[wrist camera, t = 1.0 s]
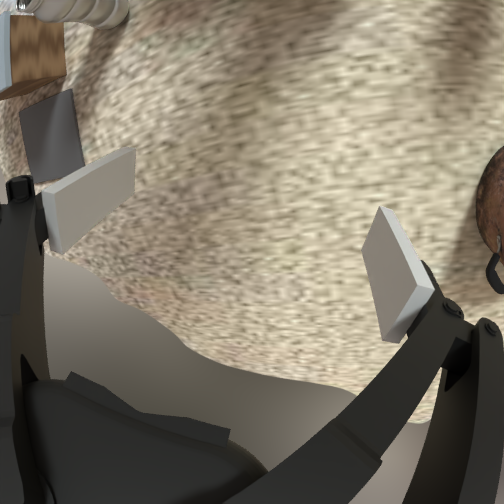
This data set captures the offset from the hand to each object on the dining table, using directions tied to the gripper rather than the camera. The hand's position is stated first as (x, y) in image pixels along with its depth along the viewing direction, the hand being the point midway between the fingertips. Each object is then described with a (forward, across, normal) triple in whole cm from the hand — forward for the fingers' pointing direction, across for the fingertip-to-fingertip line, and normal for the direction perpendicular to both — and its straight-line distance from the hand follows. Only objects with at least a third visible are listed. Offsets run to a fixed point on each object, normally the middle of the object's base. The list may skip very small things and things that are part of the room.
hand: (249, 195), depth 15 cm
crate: (+29, -46, +8) cm, 55 cm away
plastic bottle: (+29, -29, +15) cm, 44 cm away
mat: (+28, -42, -8) cm, 52 cm away
